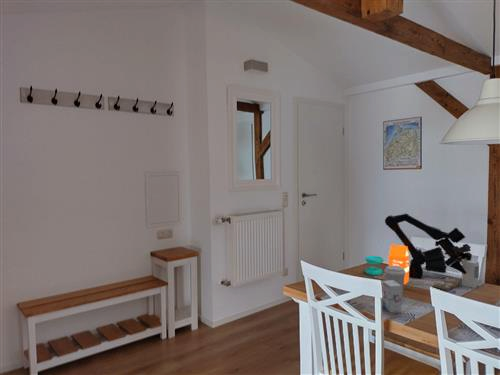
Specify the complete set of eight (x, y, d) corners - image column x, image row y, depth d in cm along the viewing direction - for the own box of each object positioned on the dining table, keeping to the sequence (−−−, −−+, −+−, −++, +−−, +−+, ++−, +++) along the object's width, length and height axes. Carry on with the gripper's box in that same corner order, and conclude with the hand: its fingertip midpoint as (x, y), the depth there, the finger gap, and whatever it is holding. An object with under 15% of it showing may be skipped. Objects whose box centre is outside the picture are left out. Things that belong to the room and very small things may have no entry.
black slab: (450, 271, 218) (438, 247, 222) (428, 277, 226) (418, 253, 230) (452, 270, 220) (440, 246, 224) (430, 276, 229) (420, 252, 233)
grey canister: (379, 298, 176) (380, 267, 175) (391, 294, 182) (391, 264, 181) (398, 304, 168) (398, 271, 168) (409, 299, 174) (409, 268, 174)
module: (462, 285, 197) (462, 260, 196) (466, 283, 199) (467, 259, 199) (474, 288, 192) (474, 263, 191) (478, 286, 194) (479, 262, 193)
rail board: (445, 291, 186) (445, 284, 186) (431, 288, 192) (432, 281, 192) (459, 286, 194) (459, 279, 194) (446, 283, 200) (446, 276, 200)
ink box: (381, 305, 167) (382, 279, 166) (392, 305, 167) (392, 279, 167) (390, 313, 158) (390, 285, 158) (401, 312, 158) (402, 285, 158)
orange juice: (405, 284, 198) (405, 247, 198) (388, 281, 204) (388, 245, 203) (408, 281, 205) (409, 245, 204) (392, 278, 210) (392, 243, 209)
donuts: (386, 258, 216) (372, 259, 213) (386, 275, 216) (372, 276, 213) (376, 254, 225) (361, 256, 222) (376, 271, 226) (361, 272, 223)
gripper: (451, 241, 194) (473, 266, 185) (468, 237, 204) (490, 261, 196) (436, 253, 201) (456, 278, 192) (453, 249, 211) (474, 272, 203)
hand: (470, 272), depth 195 cm, fingers open, 9 cm apart
